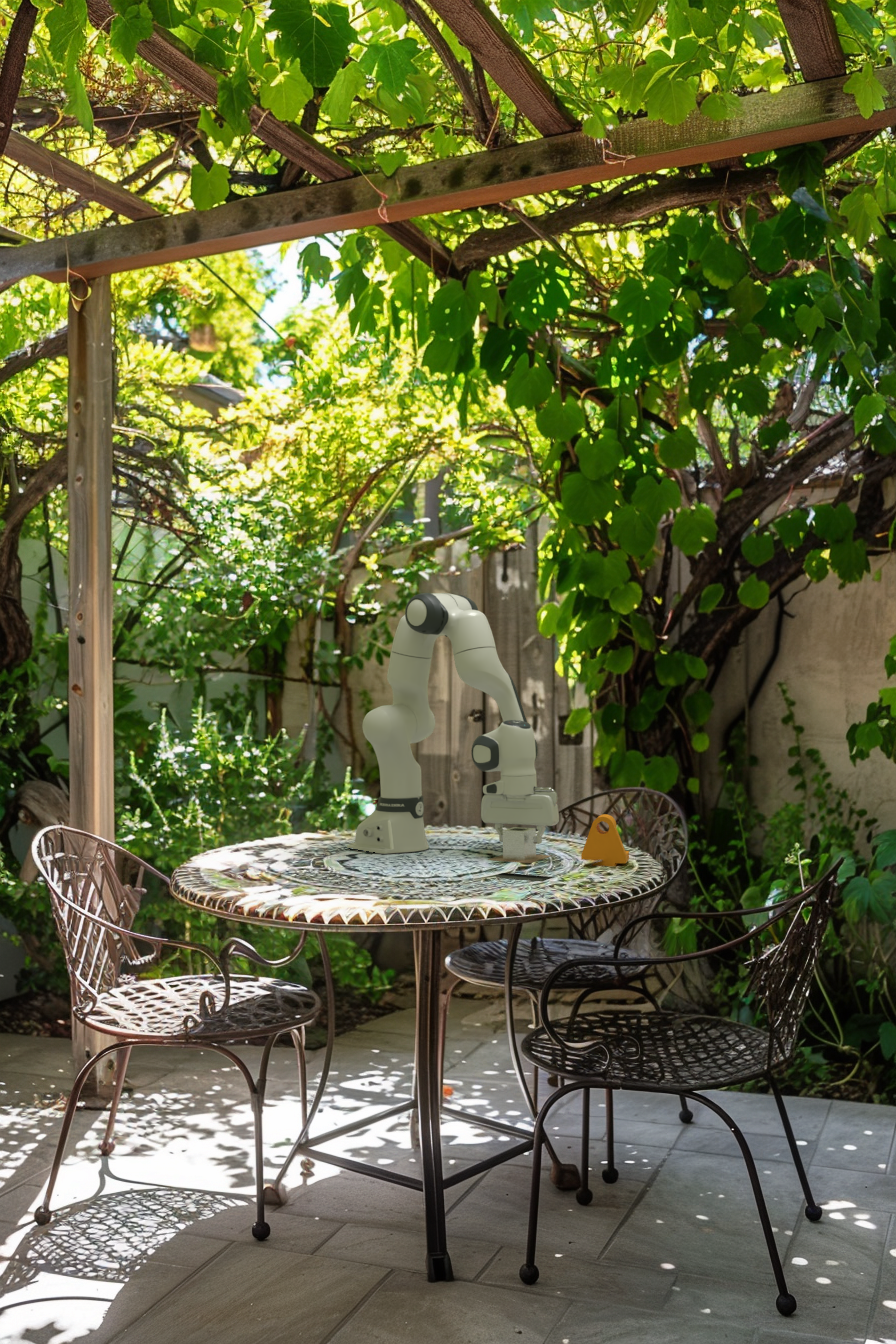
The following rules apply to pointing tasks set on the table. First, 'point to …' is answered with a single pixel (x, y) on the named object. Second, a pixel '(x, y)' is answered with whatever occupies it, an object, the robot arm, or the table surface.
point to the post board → (538, 857)
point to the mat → (523, 877)
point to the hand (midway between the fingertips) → (520, 842)
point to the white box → (519, 843)
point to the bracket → (604, 844)
